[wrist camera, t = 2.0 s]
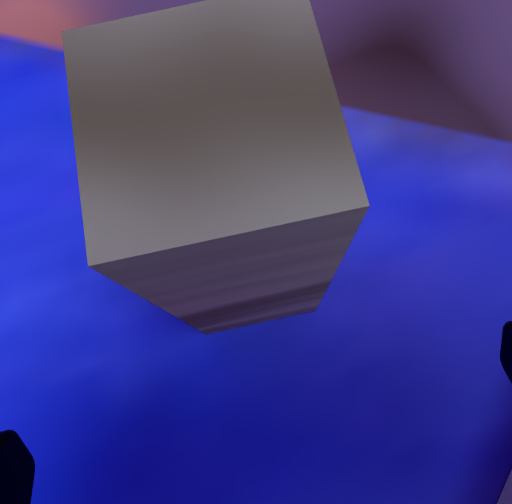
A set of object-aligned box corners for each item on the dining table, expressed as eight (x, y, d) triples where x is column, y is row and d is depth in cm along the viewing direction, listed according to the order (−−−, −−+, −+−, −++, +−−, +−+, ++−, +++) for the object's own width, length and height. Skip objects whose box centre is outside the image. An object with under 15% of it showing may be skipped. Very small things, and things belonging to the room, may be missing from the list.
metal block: (315, 310, 21) (369, 205, 8) (205, 334, 21) (88, 266, 8) (290, 207, 22) (303, -21, 9) (187, 229, 22) (61, 31, 9)
